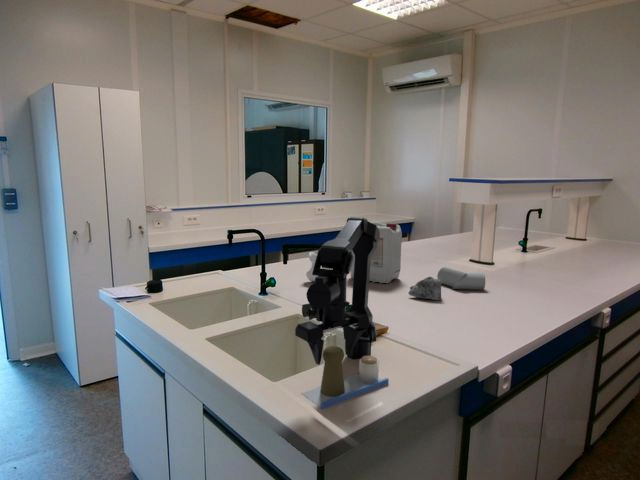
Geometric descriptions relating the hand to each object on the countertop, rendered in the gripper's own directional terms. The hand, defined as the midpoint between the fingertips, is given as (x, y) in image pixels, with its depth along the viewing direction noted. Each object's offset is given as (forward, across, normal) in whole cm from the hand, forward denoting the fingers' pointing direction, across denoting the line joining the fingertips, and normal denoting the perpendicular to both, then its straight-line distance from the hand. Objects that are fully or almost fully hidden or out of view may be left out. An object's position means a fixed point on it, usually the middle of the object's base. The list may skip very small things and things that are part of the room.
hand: (333, 359), depth 106 cm
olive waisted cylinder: (+8, 0, 0) cm, 8 cm away
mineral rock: (+10, -88, -44) cm, 99 cm away
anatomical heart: (+9, -65, -96) cm, 116 cm away
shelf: (+9, -4, 0) cm, 10 cm away
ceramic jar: (+8, -12, 0) cm, 14 cm away
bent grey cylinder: (+10, -117, -48) cm, 127 cm away
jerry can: (+9, -94, -84) cm, 126 cm away
